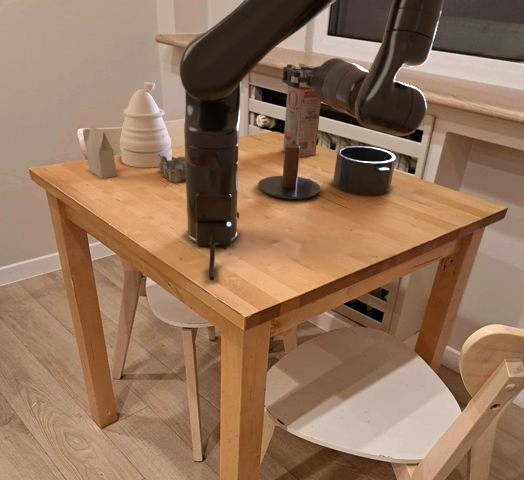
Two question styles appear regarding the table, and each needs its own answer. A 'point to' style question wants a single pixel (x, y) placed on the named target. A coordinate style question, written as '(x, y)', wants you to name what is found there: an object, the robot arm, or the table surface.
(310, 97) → the milk carton
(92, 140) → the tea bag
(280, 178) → the lid
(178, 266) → the table surface
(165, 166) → the egg carton
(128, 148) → the honey pot
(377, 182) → the pot
